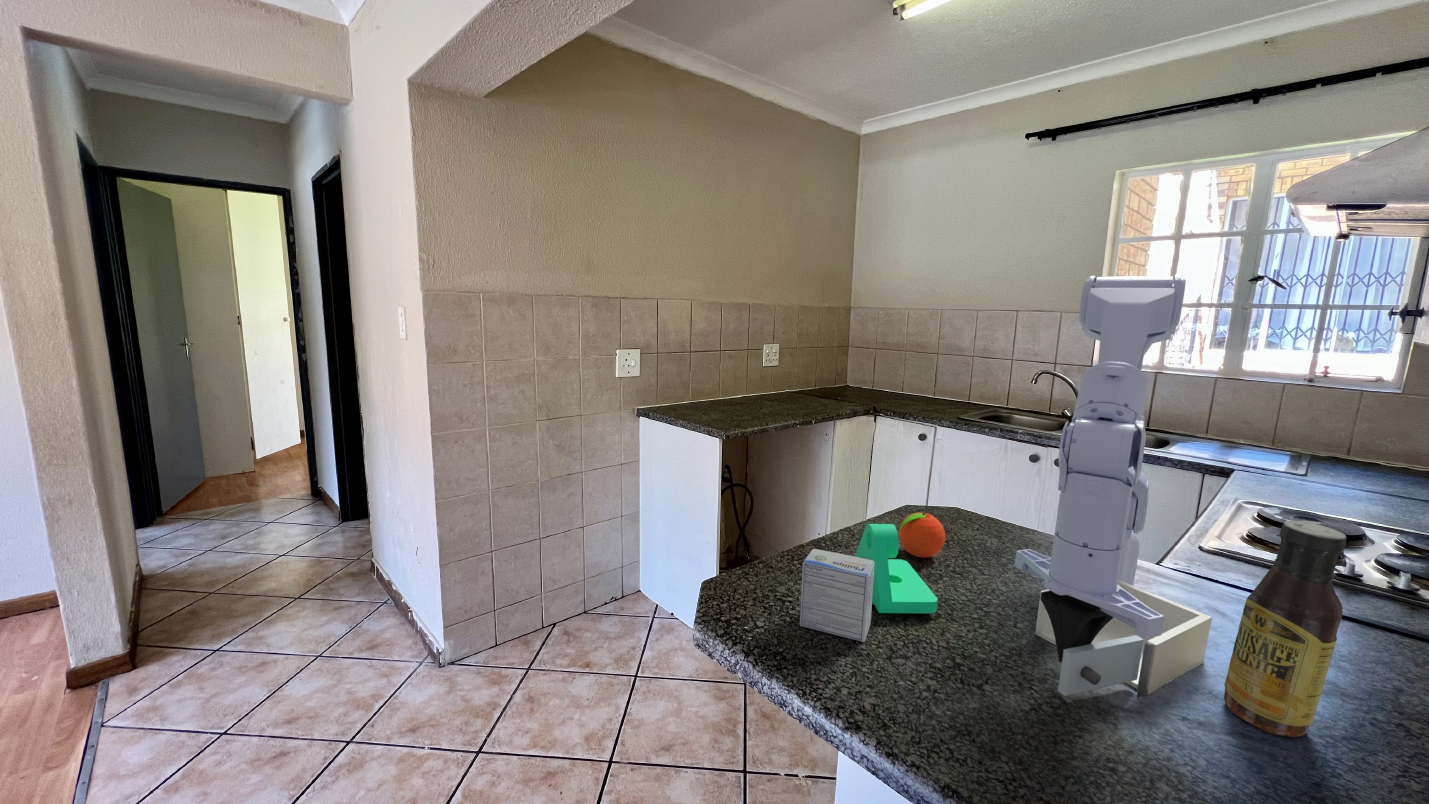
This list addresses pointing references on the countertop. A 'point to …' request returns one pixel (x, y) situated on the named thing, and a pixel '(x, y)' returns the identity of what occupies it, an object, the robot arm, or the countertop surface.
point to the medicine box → (837, 594)
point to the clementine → (921, 535)
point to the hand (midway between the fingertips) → (1069, 662)
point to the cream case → (1153, 639)
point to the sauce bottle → (1288, 633)
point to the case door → (1100, 665)
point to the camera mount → (893, 574)
